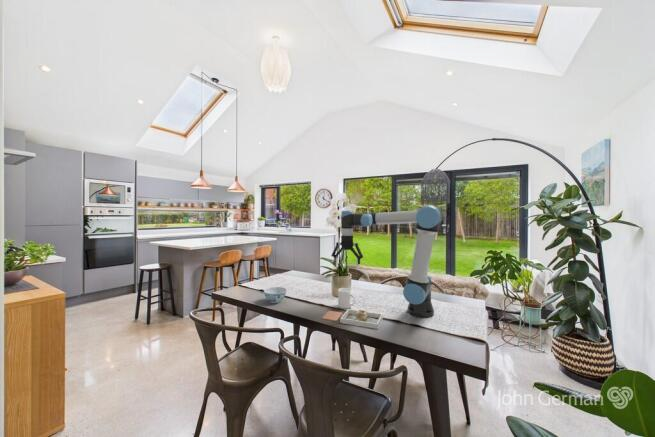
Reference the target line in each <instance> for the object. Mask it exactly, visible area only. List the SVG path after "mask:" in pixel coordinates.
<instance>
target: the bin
mask: <svg viewBox="0 0 655 437" xmlns="http://www.w3.org/2000/svg"><path fill="white" fill-rule="evenodd" d="M358 310H359V309H350V308H347V310H346V311H345V312H343V314H342V315H341V316H340V318H339V323H340V324H345V325H351V326H358V327H364V328H371V329H377V330H379V328H380V325H381V323H382V321H383V319H384V314H383V313H379V312H374V311H373V312H371V311H367V318H368V317H369V318H375V319H378V320H377V322H369V321H366V322H364V321H358V320H356V319H351V318H347V317H348V316H349V315H355V316H356V313H357V311H358Z"/></svg>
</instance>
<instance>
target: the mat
mask: <svg viewBox="0 0 655 437" xmlns="http://www.w3.org/2000/svg"><path fill="white" fill-rule="evenodd" d="M343 314H344V312H341V311H334V310H329V311H327V312H326V313H325V314H323V316H322V317H321V319H322V320H326V321H334V322H337V321H338V320H340V318H341V317H342V316H343Z"/></svg>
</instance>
